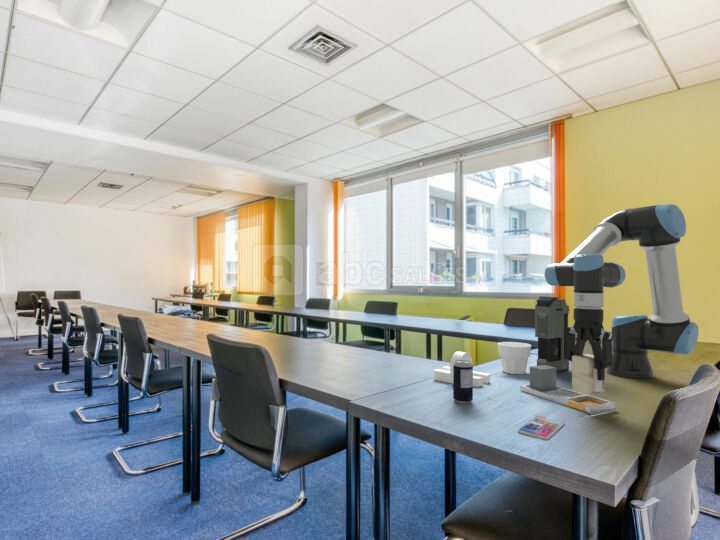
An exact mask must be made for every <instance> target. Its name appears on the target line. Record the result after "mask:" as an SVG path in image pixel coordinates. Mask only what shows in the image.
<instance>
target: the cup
mask: <svg viewBox="0 0 720 540" xmlns="http://www.w3.org/2000/svg"><path fill="white" fill-rule="evenodd" d="M497 348H498V354H499V356H500V359H501V366H502V372H503V371H504V372H503V373H505V372H506V373H505V374H508V373H510V374H509V375H515V374H522V375H525V374H526V373H527V367H528V362H529V358H530V356H531V351H532V350H531V349H532V345H531V344H530V343H525V342H520V341H519V342H518V341H502V342H501V341H500V342H498V343H497Z"/></svg>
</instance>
